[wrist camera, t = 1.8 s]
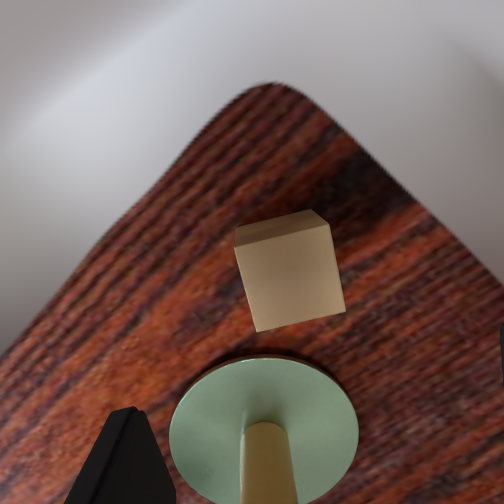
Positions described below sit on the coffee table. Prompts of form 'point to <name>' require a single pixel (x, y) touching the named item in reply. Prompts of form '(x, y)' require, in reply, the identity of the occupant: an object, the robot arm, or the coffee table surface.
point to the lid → (263, 432)
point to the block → (289, 269)
